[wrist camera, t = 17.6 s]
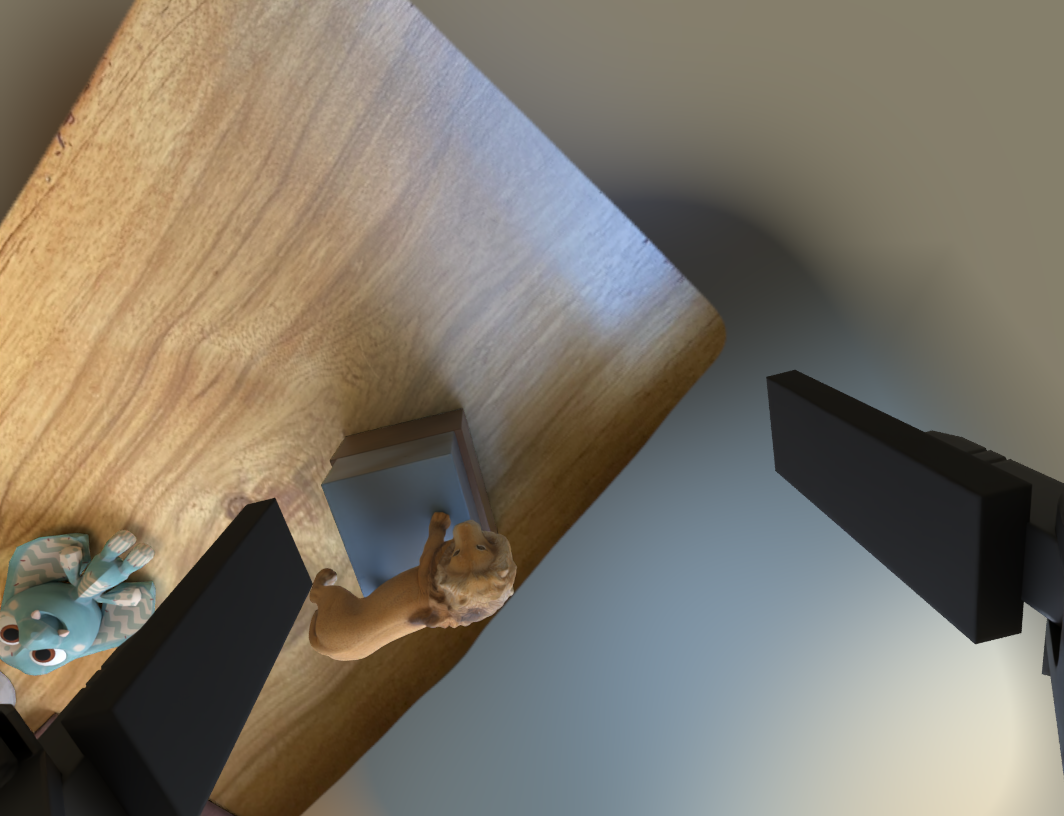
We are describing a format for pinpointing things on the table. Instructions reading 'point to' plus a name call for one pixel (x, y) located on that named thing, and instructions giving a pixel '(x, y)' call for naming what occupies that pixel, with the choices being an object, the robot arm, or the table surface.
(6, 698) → the coffee cup
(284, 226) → the table surface
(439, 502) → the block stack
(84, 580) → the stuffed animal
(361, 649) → the lion figurine
